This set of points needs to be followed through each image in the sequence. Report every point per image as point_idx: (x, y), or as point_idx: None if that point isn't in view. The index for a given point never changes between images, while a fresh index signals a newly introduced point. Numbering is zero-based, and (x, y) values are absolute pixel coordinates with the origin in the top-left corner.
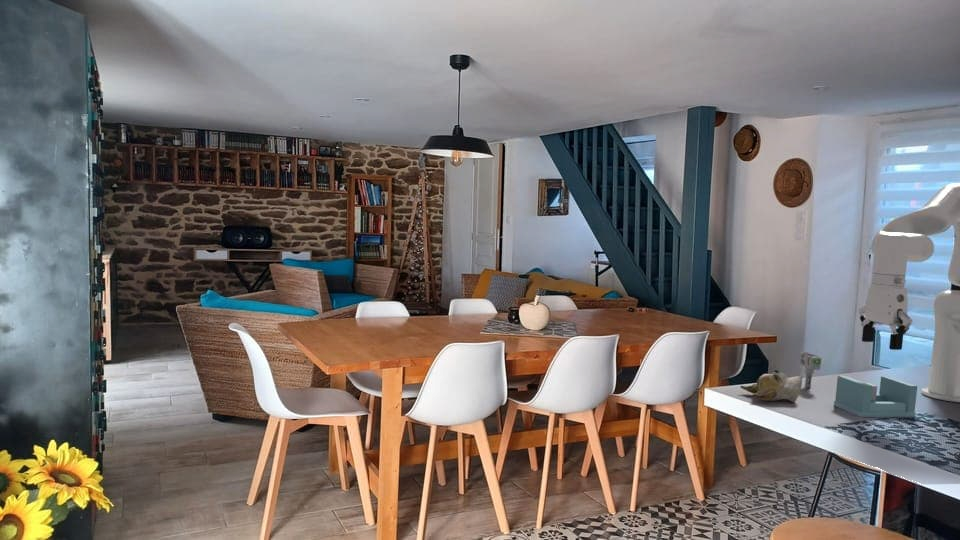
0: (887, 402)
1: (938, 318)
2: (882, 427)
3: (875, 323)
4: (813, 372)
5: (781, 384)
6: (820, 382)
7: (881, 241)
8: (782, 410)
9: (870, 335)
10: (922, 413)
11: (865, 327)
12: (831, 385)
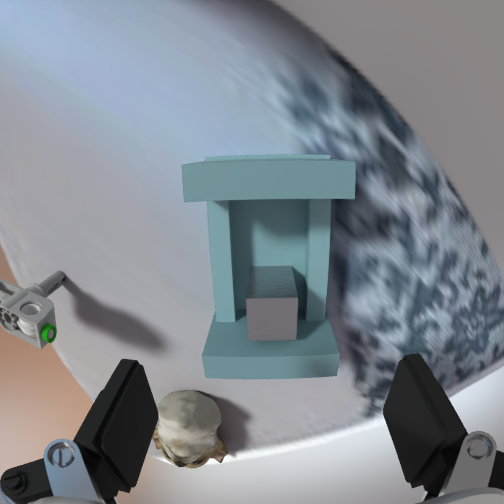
0: (317, 251)
1: None
2: (395, 323)
3: (91, 482)
4: (40, 290)
5: (212, 450)
6: (10, 203)
7: None
8: (268, 435)
9: (134, 416)
10: (287, 94)
11: (126, 487)
12: (27, 189)
